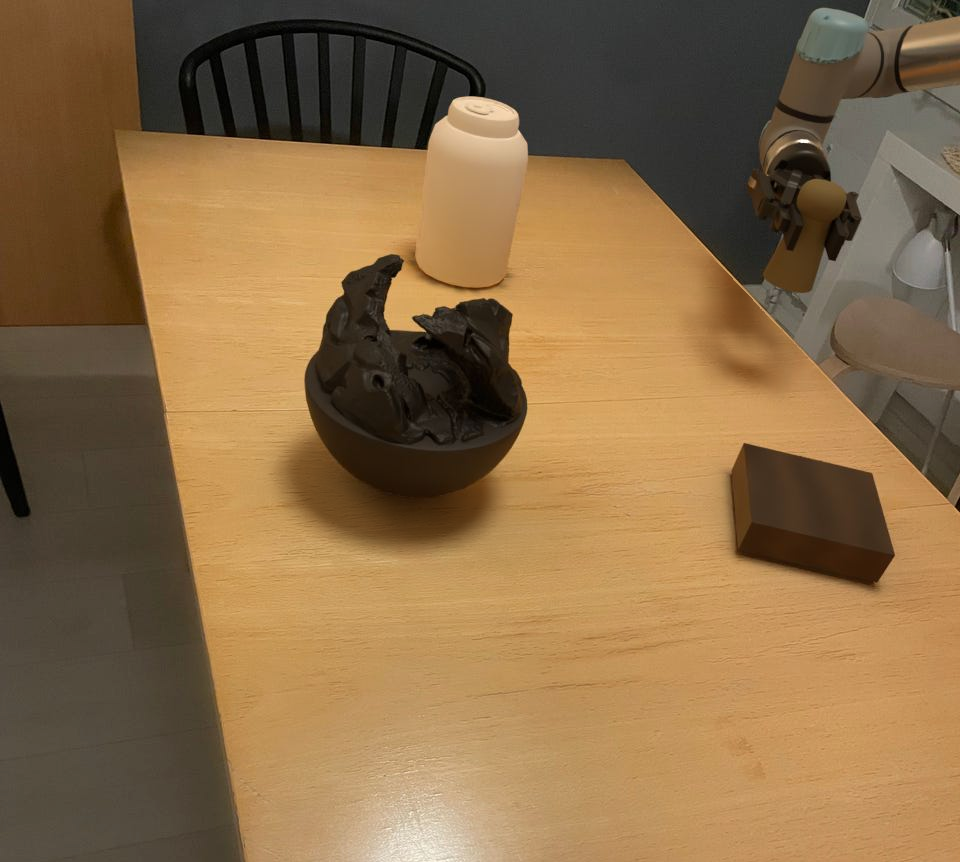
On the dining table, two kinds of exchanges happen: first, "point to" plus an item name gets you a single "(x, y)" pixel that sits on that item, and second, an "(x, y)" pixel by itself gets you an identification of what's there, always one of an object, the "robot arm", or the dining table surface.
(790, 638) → the dining table surface
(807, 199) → the wooden peg doll
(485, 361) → the bowl of black rocks
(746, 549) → the walnut stand
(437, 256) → the can
